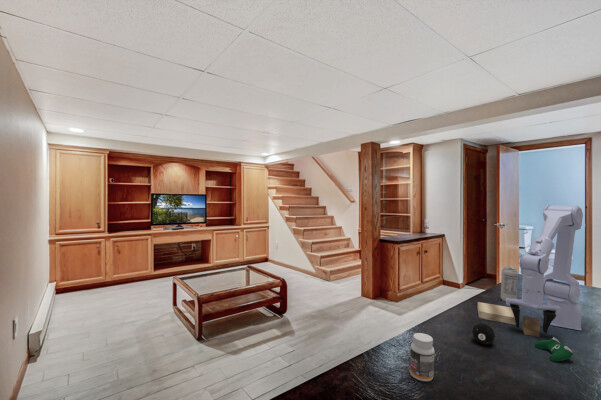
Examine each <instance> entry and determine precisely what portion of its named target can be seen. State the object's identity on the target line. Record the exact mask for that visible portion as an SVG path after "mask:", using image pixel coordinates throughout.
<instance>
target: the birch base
mask: <svg viewBox="0 0 601 400" xmlns="http://www.w3.org/2000/svg"><path fill="white" fill-rule="evenodd" d="M476 306H477V314H478V318H479V319H483V320H489V321H494V322H500V323H506V324H508V325H509V324H510V325H515V326H516V322H515V317H514V314H513V311H512V309H511V307H510V306H505V305H504V306H503V305H499V304H492V303H486V302H480V301H477V303H476Z"/></svg>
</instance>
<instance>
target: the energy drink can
mask: <svg viewBox="0 0 601 400" xmlns="http://www.w3.org/2000/svg"><path fill="white" fill-rule="evenodd" d="M518 277H519V272H518V271H517V267H512V266H503V267H502V270H501V278H500V279H501V280H500V281H501V282H500V299H501V300H502V302H505V303H506V298H512V299H518V279H519V278H518Z"/></svg>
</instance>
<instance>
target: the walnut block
mask: <svg viewBox="0 0 601 400" xmlns="http://www.w3.org/2000/svg"><path fill="white" fill-rule="evenodd" d="M540 330H541V322H540V320H539V319H538V318H537V317H532V316H525V315H523V316H522V331H523V334H524V335H525V336H526V335H527V336H530V337H531V336H532V337H536V338H540V336H541V335H540V334H541V332H540Z"/></svg>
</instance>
